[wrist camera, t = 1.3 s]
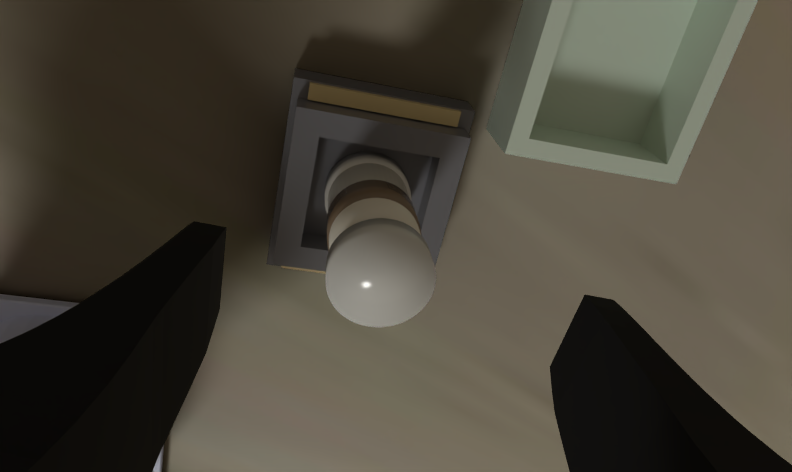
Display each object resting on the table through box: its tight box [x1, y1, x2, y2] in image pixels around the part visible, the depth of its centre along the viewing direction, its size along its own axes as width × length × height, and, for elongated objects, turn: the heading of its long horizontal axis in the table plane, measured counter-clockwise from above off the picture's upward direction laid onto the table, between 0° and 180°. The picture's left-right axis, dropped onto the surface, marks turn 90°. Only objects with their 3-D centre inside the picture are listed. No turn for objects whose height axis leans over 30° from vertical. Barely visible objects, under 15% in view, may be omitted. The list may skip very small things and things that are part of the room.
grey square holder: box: [267, 68, 475, 274], centre depth 21 cm, size 7×6×2 cm
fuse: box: [324, 151, 436, 327], centre depth 19 cm, size 3×3×6 cm
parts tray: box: [486, 0, 758, 184], centre depth 20 cm, size 7×6×2 cm
